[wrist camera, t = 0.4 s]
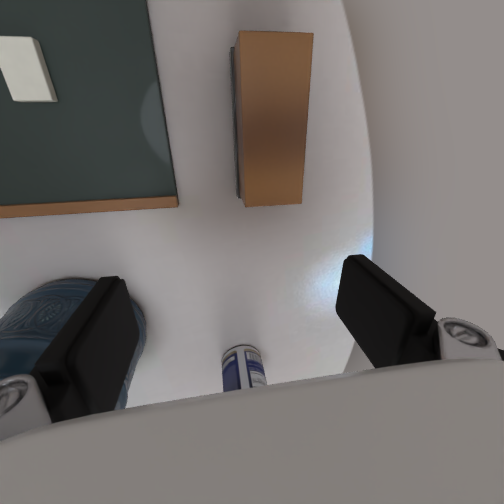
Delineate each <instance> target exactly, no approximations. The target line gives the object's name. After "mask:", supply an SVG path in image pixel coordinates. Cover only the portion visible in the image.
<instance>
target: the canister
mask: <svg viewBox="0 0 504 504" xmlns="http://www.w3.org/2000/svg"><path fill="white" fill-rule="evenodd" d="M96 283H97V282H95V281H90V280H81V279H67V280H60V281H55V282H51V283H48V284H46V285H43V286H41V287H39V288H38V289H36V290H34V291H32V292H30V293H28V294H26V295H25V296H23V297H22V298H20V299H19V300H18V301H17V302H16V303H15V304H13V305H12V306H11V307H10V308H9V309H8V311H7V312H6V313H5V315H4V316H3V317H2V318H1V319H0V380H2V379H5V378H7V377H10V376H14V375H19V374H28V375H29V373H30V372H31V371H32V369H33V368H34V367H35V365H34V364H35V363H36V361H37V360H38V359H39V357H40V356H41V355H42V353H43V352H44V351H45V350H46V348H47V347H48V346H49V344H50V343H51V342H52V340H53V339H54V338H55V336H56V335H57V334H58V332H59V331H60V330H61V329H62V327H63V326H64V325H65V323H66V322H67V321H68V319H69V318H70V317H71V315H72V314H73V313H74V312H75V310H76V309H77V308H78V306H79V305H80V304H81V302H82V301H83V300H84V298H85V297H86V296H87V294H88V293H89V292H90V291H91V289H92V288H93V287H94V285H95V284H96ZM130 300H131V303H132V307H133V310H134V313H135V317H136V320H137V323H138V327H139V331H140V336H139V340H138V343H137V346H136V349H135V352H134V355H133V358H132V360H131V363H130V366H129V369H128V372H127V375H126V378H125V381H124V384H123V386H122V389H121V392H120V395H119V398H118V401H117V404H116V407H115V409H114V411H115V410H120V409H125V407H126V404H127V399H128V390H129V387H130V384H131V381H132V378H133V375H134V371H135V368H136V365H137V362H138V360H139V358H140V357H141V355H142V352H143V349H144V346H145V341H146V322H145V319H144V316H143V314H142V312H141V310H140V309H139V307H138V306H137V305H136V303H135V302H134V301H133V300H132V299H130Z"/></svg>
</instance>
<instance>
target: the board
mask: <svg viewBox="0 0 504 504" xmlns="http://www.w3.org/2000/svg"><path fill="white" fill-rule="evenodd" d="M0 36H19V37H32V38H34V39H36V40H37V41H38V42H39V44H40V47H41V50H42V54H43V57H44V60H45V63H46V66H47V69H48V72H49V75H50V78H51V81H52V84H53V87H54V90H55V93H56V97H57V100H58V102H17V101H14V100H13V98H12V96H11V93H10V91H9V88H8V86H7V83H6V81H5V78H4V76H3V73H2V71H1V68H0V218H12V217H28V216H44V215H60V214H76V213H92V212H108V211H124V210H140V209H156V208H172V207H178V205H179V201H178V195H177V189H176V183H175V177H174V170H173V164H172V158H171V152H170V146H169V139H168V133H167V127H166V121H165V114H164V108H163V102H162V96H161V90H160V83H159V77H158V71H157V65H156V58H155V52H154V46H153V40H152V33H151V27H150V21H149V15H148V9H147V2H146V0H0Z"/></svg>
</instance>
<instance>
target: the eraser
mask: <svg viewBox="0 0 504 504" xmlns="http://www.w3.org/2000/svg"><path fill="white" fill-rule="evenodd" d="M313 35H314V34H313V33H305V32H272V31H239V33H238V37H237V41H236V44H235V47H231V48H230V52H229V55H230V75H231V94H232V114H233V134H234V153H235V173H236V193H237V197H238V198H241V199H242V201H243V203H244V205H245V207H258V206H274V205H289V204H301V203H302V190H303V176H304V162H305V148H306V134H307V120H308V105H309V91H310V77H311V63H312V49H313Z"/></svg>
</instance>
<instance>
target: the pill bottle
mask: <svg viewBox="0 0 504 504" xmlns="http://www.w3.org/2000/svg"><path fill="white" fill-rule="evenodd" d="M222 376H223V392H228V391H234V390H240V389H247V388H253V387H259V386H266V385H267V382H266V377H265V373H264V369H263V365H262V360H261V356H260V354H259V352H258V351H257V350H256V349H255V348H253V347H250V346H239V347H235V348H233V349H231V350H229V351H228V352H227V353H226V354H225V355H224V357H223V359H222Z"/></svg>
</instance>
